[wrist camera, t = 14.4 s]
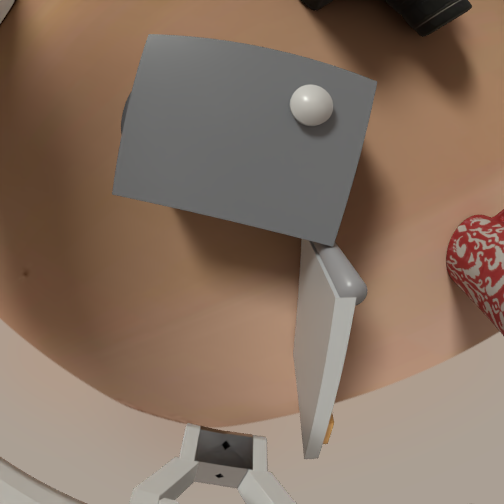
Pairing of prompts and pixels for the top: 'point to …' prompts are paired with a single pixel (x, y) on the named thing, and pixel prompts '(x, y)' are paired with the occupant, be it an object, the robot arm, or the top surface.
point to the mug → (480, 263)
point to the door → (322, 336)
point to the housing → (243, 135)
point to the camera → (418, 12)
